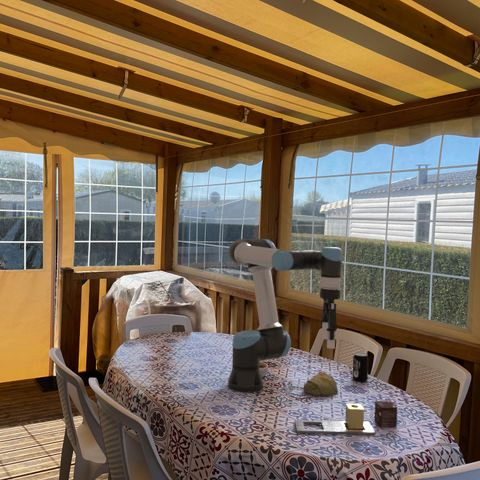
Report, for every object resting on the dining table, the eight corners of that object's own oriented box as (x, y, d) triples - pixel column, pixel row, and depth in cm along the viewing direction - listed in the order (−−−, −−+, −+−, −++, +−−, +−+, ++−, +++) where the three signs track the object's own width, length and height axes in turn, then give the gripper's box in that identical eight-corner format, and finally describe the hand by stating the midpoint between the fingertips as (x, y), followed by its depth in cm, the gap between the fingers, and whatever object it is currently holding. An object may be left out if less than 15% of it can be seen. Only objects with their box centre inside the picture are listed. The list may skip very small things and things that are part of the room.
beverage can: (367, 383, 223) (368, 356, 223) (352, 381, 225) (353, 355, 224) (367, 378, 230) (367, 352, 229) (352, 377, 231) (353, 351, 231)
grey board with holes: (297, 433, 167) (297, 430, 167) (294, 422, 176) (294, 419, 176) (375, 435, 167) (375, 432, 167) (368, 424, 176) (368, 421, 176)
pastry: (339, 389, 214) (339, 371, 214) (336, 399, 202) (336, 379, 202) (306, 386, 218) (306, 367, 218) (301, 395, 206) (301, 375, 206)
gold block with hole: (348, 432, 169) (349, 408, 169) (345, 426, 174) (346, 403, 174) (363, 432, 169) (363, 408, 169) (359, 426, 174) (360, 403, 174)
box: (373, 421, 179) (374, 401, 179) (390, 421, 179) (390, 400, 179) (380, 428, 173) (380, 407, 173) (397, 428, 173) (397, 407, 173)
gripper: (346, 293, 177) (343, 352, 178) (334, 283, 202) (332, 335, 203) (325, 292, 177) (322, 352, 178) (315, 283, 202) (313, 335, 203)
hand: (327, 343), depth 191 cm, fingers open, 13 cm apart
